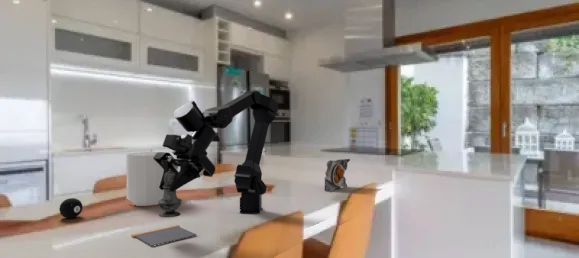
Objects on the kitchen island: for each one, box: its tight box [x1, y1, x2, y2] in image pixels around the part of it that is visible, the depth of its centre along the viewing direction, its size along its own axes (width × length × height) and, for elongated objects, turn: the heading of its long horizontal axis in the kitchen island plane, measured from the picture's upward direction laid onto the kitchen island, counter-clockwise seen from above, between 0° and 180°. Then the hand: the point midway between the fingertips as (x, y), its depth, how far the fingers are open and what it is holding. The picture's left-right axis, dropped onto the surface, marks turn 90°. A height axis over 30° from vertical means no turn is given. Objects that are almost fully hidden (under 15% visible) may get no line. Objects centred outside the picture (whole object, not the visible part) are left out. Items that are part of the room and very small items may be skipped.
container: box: [125, 151, 164, 207], centre depth 134 cm, size 14×14×18 cm
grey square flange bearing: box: [324, 158, 351, 193], centre depth 159 cm, size 15×4×13 cm, turn 142°
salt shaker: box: [158, 169, 183, 219], centre depth 92 cm, size 6×6×12 cm
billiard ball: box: [58, 197, 83, 219], centre depth 111 cm, size 6×6×6 cm
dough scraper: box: [130, 224, 198, 247], centre depth 94 cm, size 11×13×1 cm
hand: (165, 189), depth 91 cm, fingers closed on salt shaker, 4 cm apart
